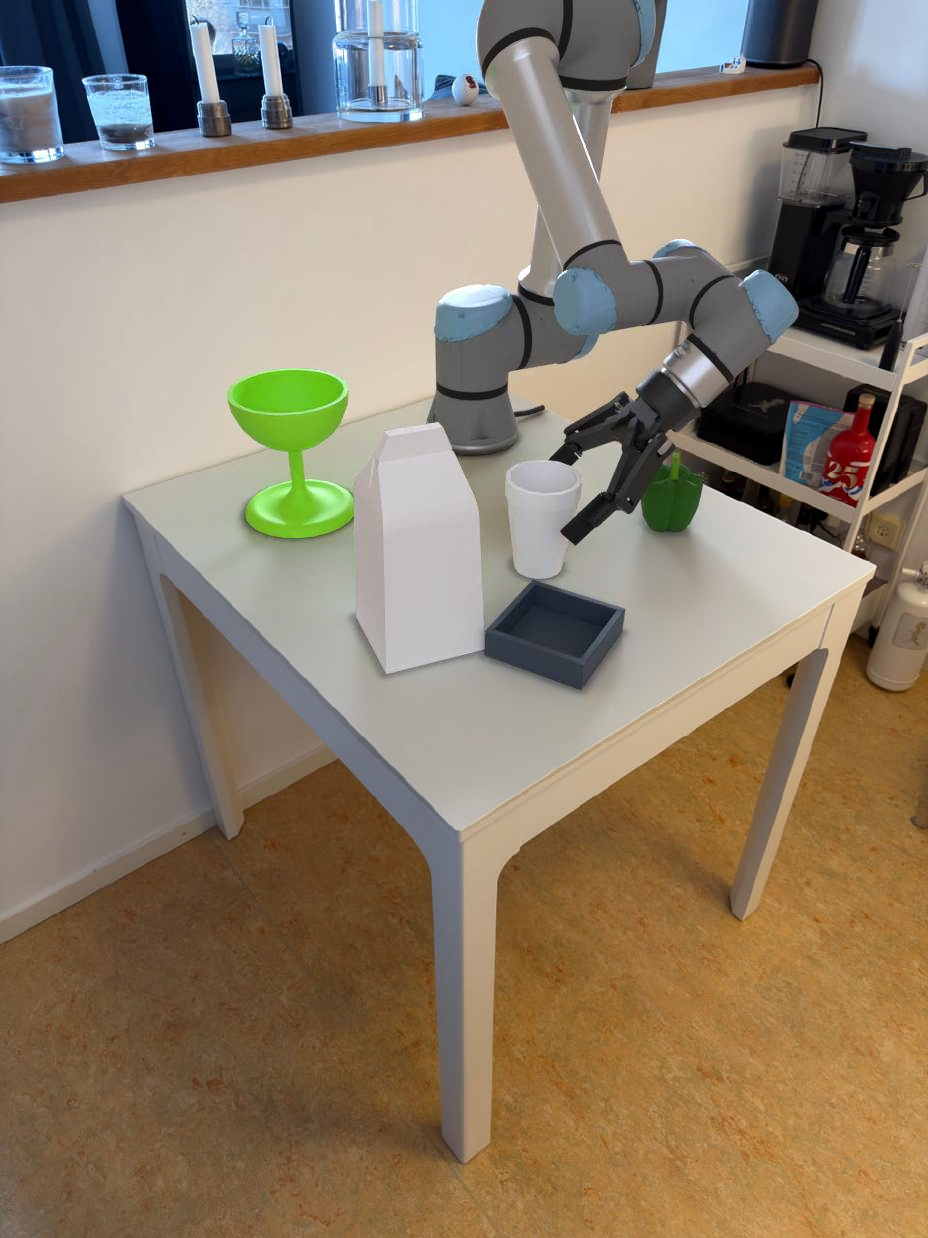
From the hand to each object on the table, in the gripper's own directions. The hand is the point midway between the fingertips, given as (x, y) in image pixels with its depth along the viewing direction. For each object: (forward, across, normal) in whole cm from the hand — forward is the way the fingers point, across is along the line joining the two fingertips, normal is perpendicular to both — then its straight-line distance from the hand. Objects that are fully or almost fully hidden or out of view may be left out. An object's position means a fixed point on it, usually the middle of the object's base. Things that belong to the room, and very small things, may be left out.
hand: (550, 511), depth 113 cm
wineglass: (+27, -21, -16) cm, 38 cm away
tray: (+9, +16, +3) cm, 19 cm away
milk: (+19, +11, -8) cm, 24 cm away
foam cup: (+7, 0, +5) cm, 8 cm away
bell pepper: (-8, -7, +20) cm, 22 cm away
